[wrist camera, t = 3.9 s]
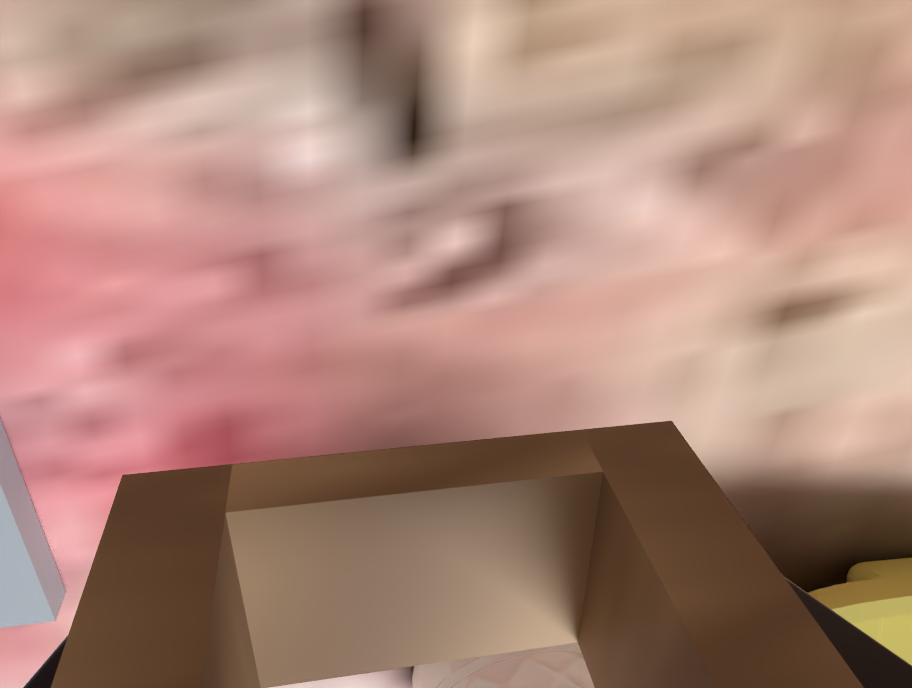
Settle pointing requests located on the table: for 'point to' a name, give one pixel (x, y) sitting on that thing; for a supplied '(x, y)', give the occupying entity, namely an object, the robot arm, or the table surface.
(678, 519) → the frame
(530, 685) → the white cup
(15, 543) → the rail
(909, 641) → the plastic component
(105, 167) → the table surface
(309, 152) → the table surface
